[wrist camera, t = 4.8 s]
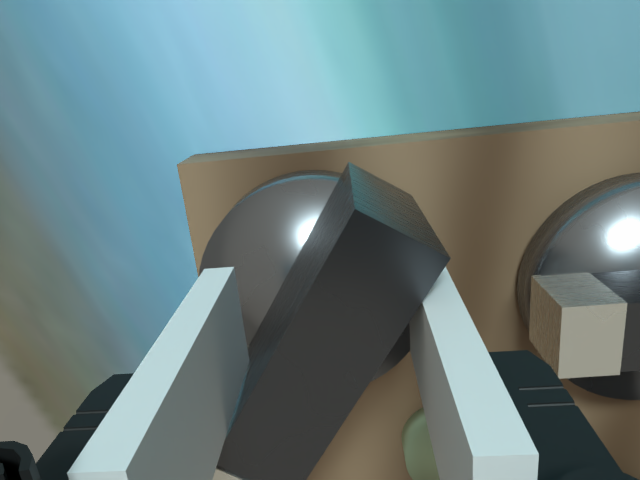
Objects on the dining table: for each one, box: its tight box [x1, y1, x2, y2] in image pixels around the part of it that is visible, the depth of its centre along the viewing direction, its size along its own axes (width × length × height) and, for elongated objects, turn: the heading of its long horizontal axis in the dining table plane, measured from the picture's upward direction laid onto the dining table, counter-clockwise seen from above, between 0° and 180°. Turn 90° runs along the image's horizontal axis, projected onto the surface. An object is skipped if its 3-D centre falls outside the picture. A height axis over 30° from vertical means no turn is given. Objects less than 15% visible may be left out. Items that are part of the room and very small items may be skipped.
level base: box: [177, 112, 640, 480], centre depth 19 cm, size 18×20×3 cm
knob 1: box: [199, 162, 451, 480], centre depth 13 cm, size 8×7×7 cm
